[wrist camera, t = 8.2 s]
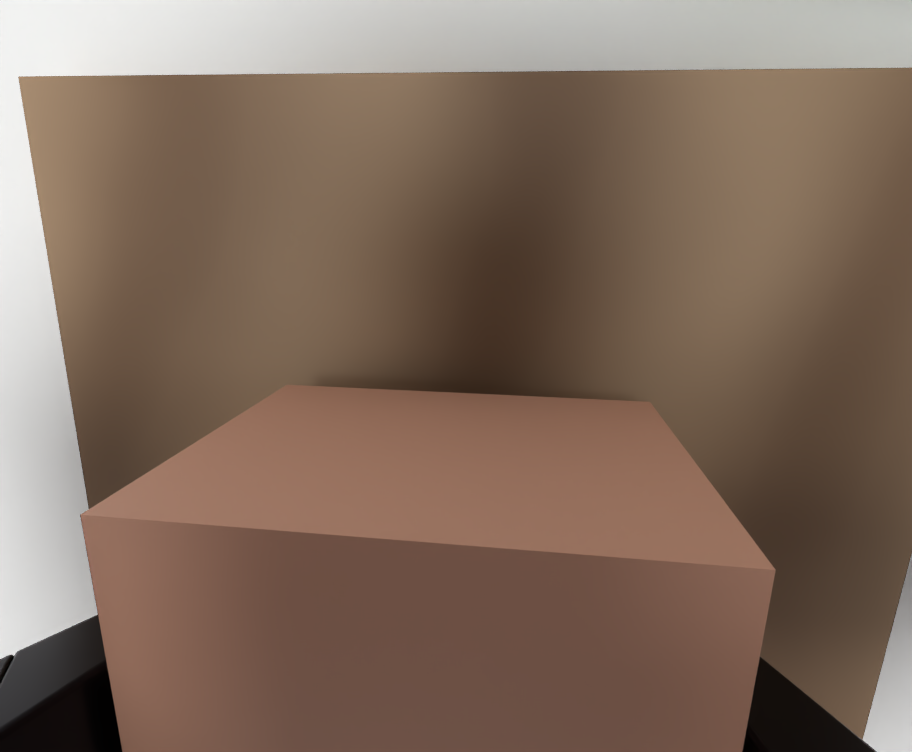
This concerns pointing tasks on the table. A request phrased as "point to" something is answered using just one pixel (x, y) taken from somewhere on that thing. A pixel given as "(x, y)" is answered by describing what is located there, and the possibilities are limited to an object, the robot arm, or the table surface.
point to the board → (519, 282)
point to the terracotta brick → (429, 582)
